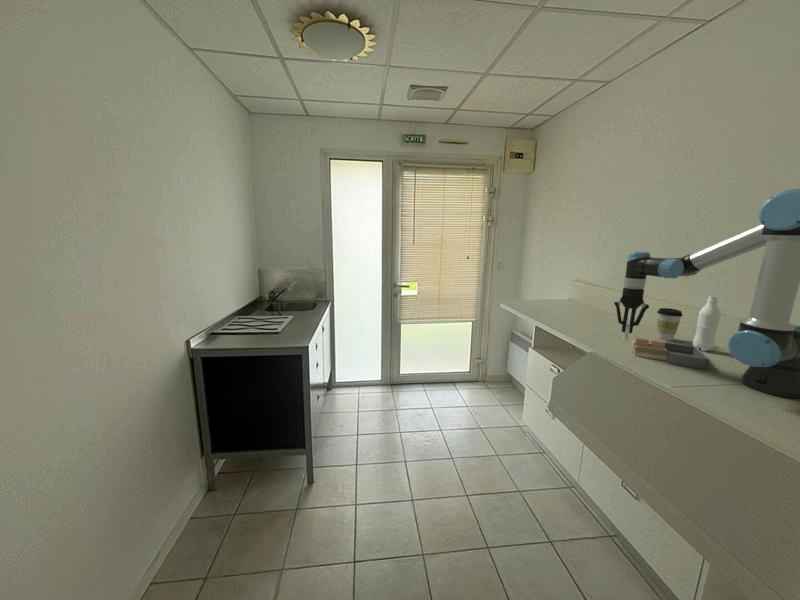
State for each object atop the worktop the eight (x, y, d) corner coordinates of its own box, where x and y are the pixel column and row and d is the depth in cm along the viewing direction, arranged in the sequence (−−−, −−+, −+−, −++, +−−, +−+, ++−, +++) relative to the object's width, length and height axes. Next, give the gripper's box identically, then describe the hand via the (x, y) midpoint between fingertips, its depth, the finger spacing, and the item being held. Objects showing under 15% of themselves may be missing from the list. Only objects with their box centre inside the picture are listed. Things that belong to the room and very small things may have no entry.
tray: (706, 369, 128) (708, 359, 127) (667, 363, 133) (669, 353, 133) (694, 355, 143) (696, 346, 142) (659, 349, 149) (661, 341, 148)
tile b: (664, 348, 139) (665, 343, 138) (651, 346, 141) (652, 341, 140) (662, 345, 143) (663, 340, 142) (649, 343, 145) (650, 338, 144)
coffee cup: (648, 337, 167) (653, 308, 163) (659, 335, 171) (664, 307, 168) (670, 343, 158) (676, 313, 155) (681, 340, 162) (687, 311, 159)
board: (666, 360, 136) (668, 351, 135) (634, 355, 141) (635, 346, 140) (661, 351, 146) (662, 343, 145) (631, 347, 151) (632, 339, 151)
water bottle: (716, 352, 146) (729, 298, 141) (698, 351, 147) (710, 297, 142) (704, 347, 153) (716, 294, 148) (687, 346, 154) (698, 294, 149)
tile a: (648, 346, 141) (649, 340, 141) (635, 344, 144) (636, 339, 143) (646, 343, 145) (647, 337, 145) (634, 341, 147) (635, 336, 147)
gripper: (650, 287, 142) (642, 339, 147) (615, 285, 148) (608, 334, 153) (653, 290, 136) (644, 344, 141) (616, 287, 142) (608, 339, 147)
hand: (625, 339), depth 147 cm, fingers closed
